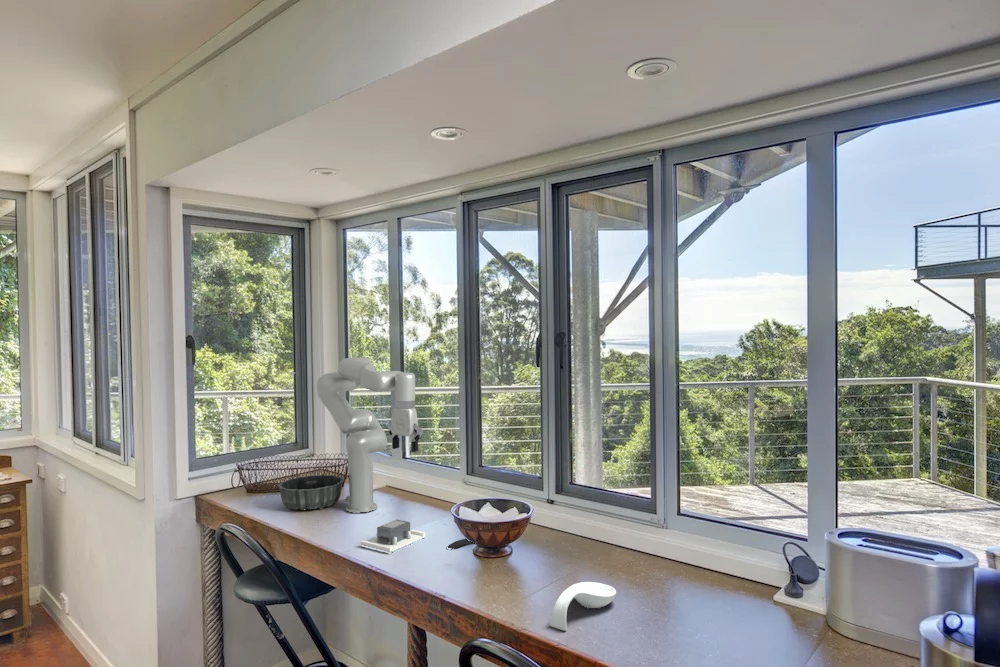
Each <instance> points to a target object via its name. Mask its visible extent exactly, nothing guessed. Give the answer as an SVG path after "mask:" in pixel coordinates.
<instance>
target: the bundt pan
mask: <svg viewBox="0 0 1000 667" xmlns="http://www.w3.org/2000/svg"><path fill="white" fill-rule="evenodd" d="M344 479H345V478H343V477H341V476H337V475H334V474H333V475H331V474H329V475H327V474H319V475H316V474H315V475H306V476H297V477H294V478H293V477H292V478H290V479H289V478H288V479H286V480H284V481H281V482H280V483H278V484H277V487H278V488H279V493H280V498H281V501H282V503H283V505H284V507H286V508H288V509H289V508H292V509H291V510H294V509H300V510H301V511H303V510H304V509H306V510H309V509H310V510H309V511H312V510H311V509H314V510H316V509H319V508H322V509H323V508H325V507H324V506H328V507H330V506H332V504H333V505H335V504H336V503H338V501H339V499H340V497H341V495H342V490H343V482H344Z"/></svg>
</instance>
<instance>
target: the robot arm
mask: <svg viewBox="0 0 1000 667" xmlns="http://www.w3.org/2000/svg"><path fill="white" fill-rule="evenodd" d="M360 385H361V386H362V387H363V388H364V389H367V390H370V391H372V392H376V393H378V392H379V393H382V392H389V391H390V392H391V391H394V393H395V394H394V396H395V397H394V398H395V399H394V402H393V405H394V406H395V407H394V408H393V410H392V415H391V424H389V425H387V430H388V433H389V435H390V438H391V439H392V440H391V441H392V443H391V444H392V450H396V449H398V448H400V437H399V436H402V437H409V438H410V439H411V442H410V449H411V450H410V452H411V453H416V452H418V450H419V441H420V439H421V438H422V435H423V433H424V430H423V429H422V427H420V426H419V424H418V422H419V420H418V412H417V409H416V375H415V374H414V373H413V372H404V371H400V370H391V371H389V370H388V371H387V370H386V371H376V367H375V366H374V364H373V363H372V361H371V360H370V359H369V358H367V357H363V356H359V357H347V358H343V359H341V361H339V363H338V365H337V371H336V372H335V371H334V372H327V373H325V374H322V375H321V376H319V378H318V379H317V381H316V392H317V396H318V397H319V400H320V402H321V403H322V404H323V405H324V407H325V408H326V409H327V411H328V412H329V413H330V415H331V417H332V419H333V420H334V422H335V424H336V426H337V427H338V429H339V431H341V433H343V434H345V435H348V436H347V438H346V440H345V449H346V452H347V459H348V476H349V477H348V483H349V484H348V485H349V486H348V487H349V489H348V493H349V495H347V496H346V498H344V500H343V501H344V502H345V503H347V506H345V511H346V510H347V511H350V512H367V513H370V512H369V511H371V512H373V511H372V510H374V511H376V510H377V509H378V504H377V503H375V502H374V466H373V462H372V459H371V458H370V456H369V454H373V453H378V452H381V451H383V450H384V449H385V448H386V447H387V445H388V437H387V434H386V432H385V430H384V429H383V427H382V426H381V424H380V422H379V421H378V419H377V417H376V416H375V414H374V413H373V412H372V411H371V410H369V409H365V408H361V409H360V408H359V409H353V407H352V406H351V404H350V403H349V401H348V400H347V399H346V398H345V397H343V396H342V395H341V394H339V393H343V392H350V391H354V390H356V389H357V388H358V387H359V386H360ZM376 508H377V509H376ZM375 509H376V510H375ZM347 511H346V512H347ZM350 512H349V513H350Z"/></svg>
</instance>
